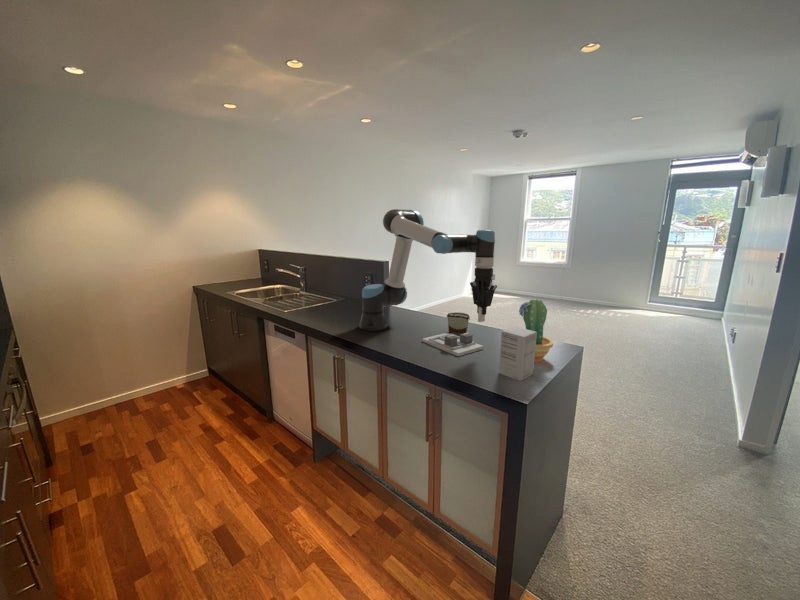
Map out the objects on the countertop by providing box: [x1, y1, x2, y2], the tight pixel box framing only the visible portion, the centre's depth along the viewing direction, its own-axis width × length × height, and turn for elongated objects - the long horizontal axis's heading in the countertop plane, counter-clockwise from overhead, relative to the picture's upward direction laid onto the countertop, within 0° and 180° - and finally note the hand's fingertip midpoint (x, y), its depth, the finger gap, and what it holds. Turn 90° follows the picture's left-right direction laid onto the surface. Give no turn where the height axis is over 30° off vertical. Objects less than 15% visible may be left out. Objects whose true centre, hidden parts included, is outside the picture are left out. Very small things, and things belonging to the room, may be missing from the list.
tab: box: [444, 334, 457, 347], centre depth 151 cm, size 4×4×5 cm
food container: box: [446, 311, 471, 335], centre depth 176 cm, size 12×6×10 cm, turn 65°
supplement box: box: [498, 326, 537, 382], centre depth 124 cm, size 10×9×17 cm
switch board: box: [422, 332, 484, 357], centre depth 156 cm, size 24×16×2 cm, turn 36°
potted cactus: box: [518, 298, 554, 363], centre depth 139 cm, size 15×15×25 cm
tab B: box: [459, 332, 473, 344], centre depth 154 cm, size 4×4×5 cm
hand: (481, 321), depth 146 cm, fingers closed
